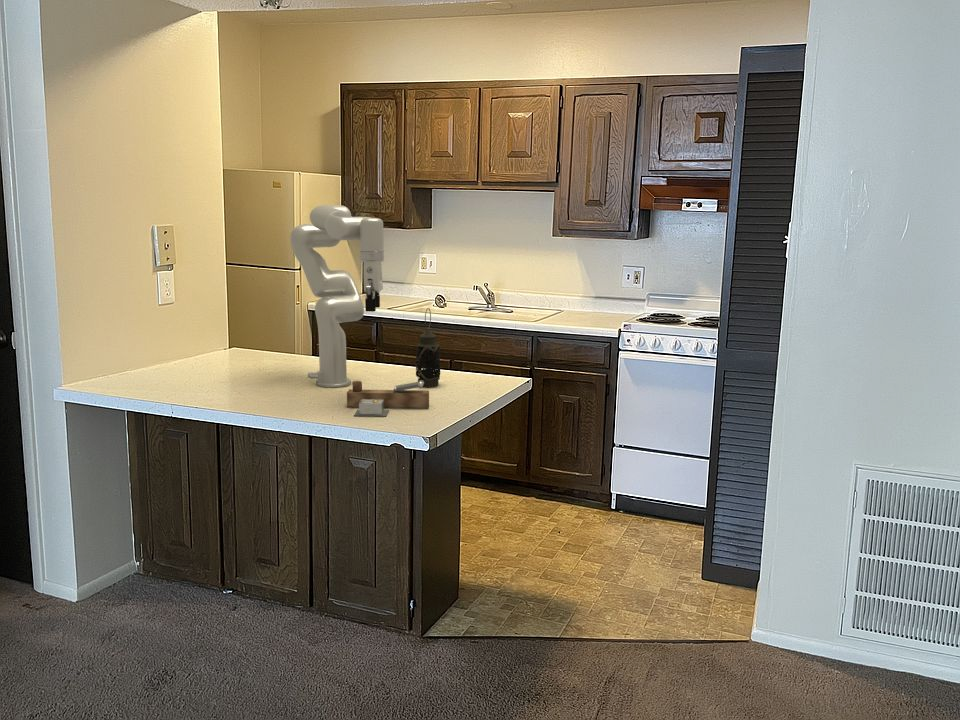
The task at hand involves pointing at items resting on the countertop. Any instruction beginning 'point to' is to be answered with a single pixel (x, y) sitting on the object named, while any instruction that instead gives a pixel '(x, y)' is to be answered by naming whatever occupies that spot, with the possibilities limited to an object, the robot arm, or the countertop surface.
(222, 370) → the countertop surface
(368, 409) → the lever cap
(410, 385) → the lever
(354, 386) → the plane body
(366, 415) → the mat
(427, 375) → the lantern
